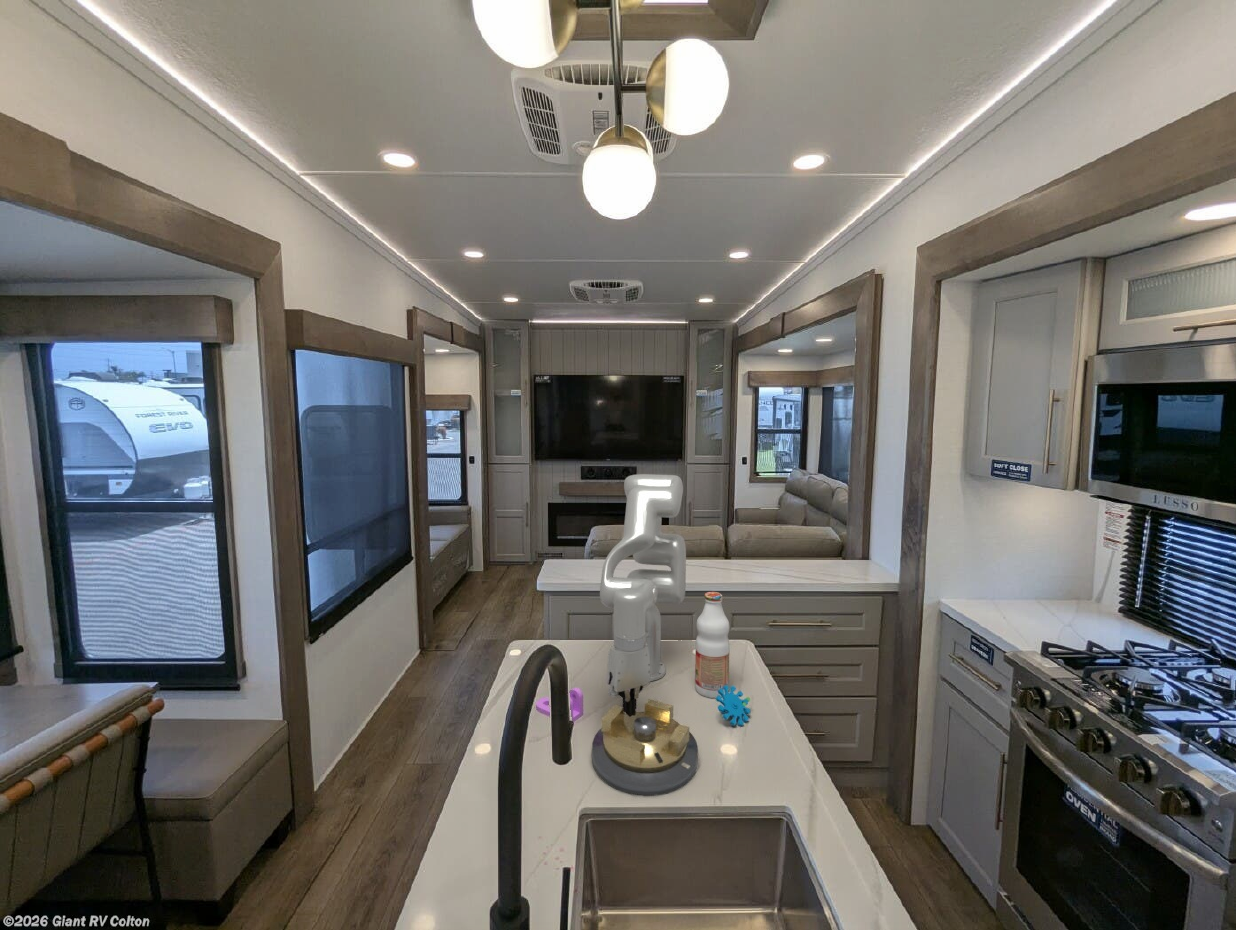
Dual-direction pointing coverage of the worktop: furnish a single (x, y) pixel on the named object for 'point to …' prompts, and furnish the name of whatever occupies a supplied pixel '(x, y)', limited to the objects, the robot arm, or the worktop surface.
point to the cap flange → (640, 780)
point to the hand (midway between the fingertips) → (629, 712)
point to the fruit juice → (712, 648)
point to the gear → (733, 705)
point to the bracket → (575, 704)
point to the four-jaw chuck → (644, 738)
